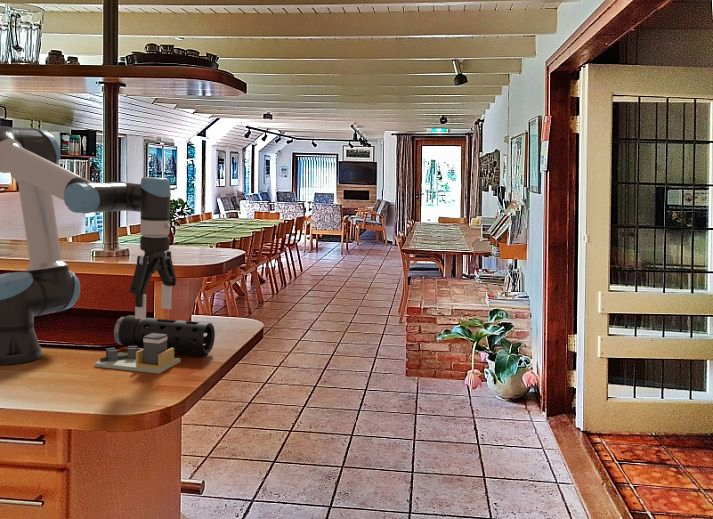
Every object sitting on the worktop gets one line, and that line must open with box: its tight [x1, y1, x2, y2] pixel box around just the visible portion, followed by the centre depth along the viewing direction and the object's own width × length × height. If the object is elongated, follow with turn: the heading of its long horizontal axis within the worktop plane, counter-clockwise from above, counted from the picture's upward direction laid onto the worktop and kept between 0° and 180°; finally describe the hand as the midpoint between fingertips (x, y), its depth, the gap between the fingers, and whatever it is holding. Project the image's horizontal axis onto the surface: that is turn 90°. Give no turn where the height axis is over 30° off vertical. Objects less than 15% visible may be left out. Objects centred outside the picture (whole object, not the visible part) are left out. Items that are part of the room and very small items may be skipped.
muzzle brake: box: [113, 314, 216, 357], centre depth 207 cm, size 10×28×10 cm, turn 78°
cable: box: [99, 355, 128, 362], centre depth 195 cm, size 13×3×1 cm, turn 107°
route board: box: [94, 346, 181, 375], centre depth 194 cm, size 19×12×4 cm, turn 77°
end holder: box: [136, 348, 175, 369], centre depth 191 cm, size 7×8×4 cm
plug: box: [143, 333, 167, 365], centre depth 191 cm, size 5×5×8 cm
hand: (153, 313), depth 190 cm, fingers open, 13 cm apart
